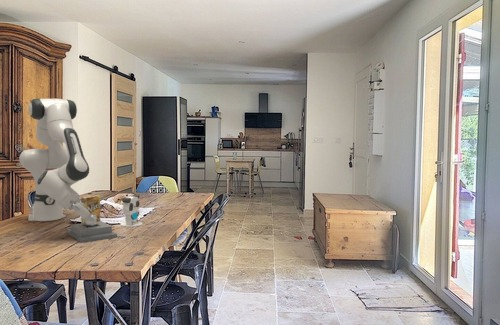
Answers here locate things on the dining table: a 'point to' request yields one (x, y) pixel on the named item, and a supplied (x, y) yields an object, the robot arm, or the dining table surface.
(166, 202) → the dining table surface
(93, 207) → the candy box
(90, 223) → the metal pin
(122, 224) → the panda figurine
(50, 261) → the dining table surface
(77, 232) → the socket housing
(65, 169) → the robot arm
